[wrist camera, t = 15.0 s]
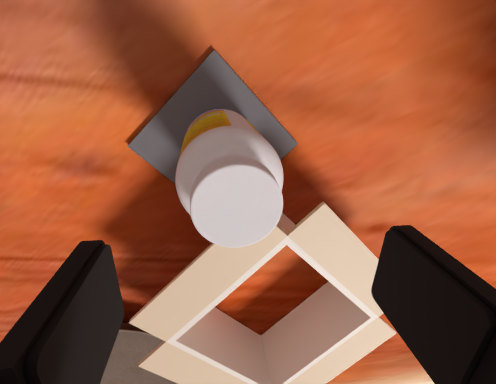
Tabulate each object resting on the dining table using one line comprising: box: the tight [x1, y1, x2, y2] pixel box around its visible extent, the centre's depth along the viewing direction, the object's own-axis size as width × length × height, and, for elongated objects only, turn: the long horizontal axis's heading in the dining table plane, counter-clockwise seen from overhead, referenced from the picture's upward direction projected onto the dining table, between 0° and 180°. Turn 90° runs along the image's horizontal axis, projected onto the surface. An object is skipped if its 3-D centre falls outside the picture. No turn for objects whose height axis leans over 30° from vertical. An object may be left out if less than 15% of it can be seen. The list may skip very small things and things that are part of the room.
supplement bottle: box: [175, 109, 283, 248], centre depth 19 cm, size 7×7×13 cm
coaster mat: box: [128, 50, 298, 185], centre depth 25 cm, size 11×11×1 cm
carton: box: [129, 201, 396, 384], centre depth 29 cm, size 23×23×7 cm
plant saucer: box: [100, 323, 177, 384], centre depth 34 cm, size 21×21×3 cm
